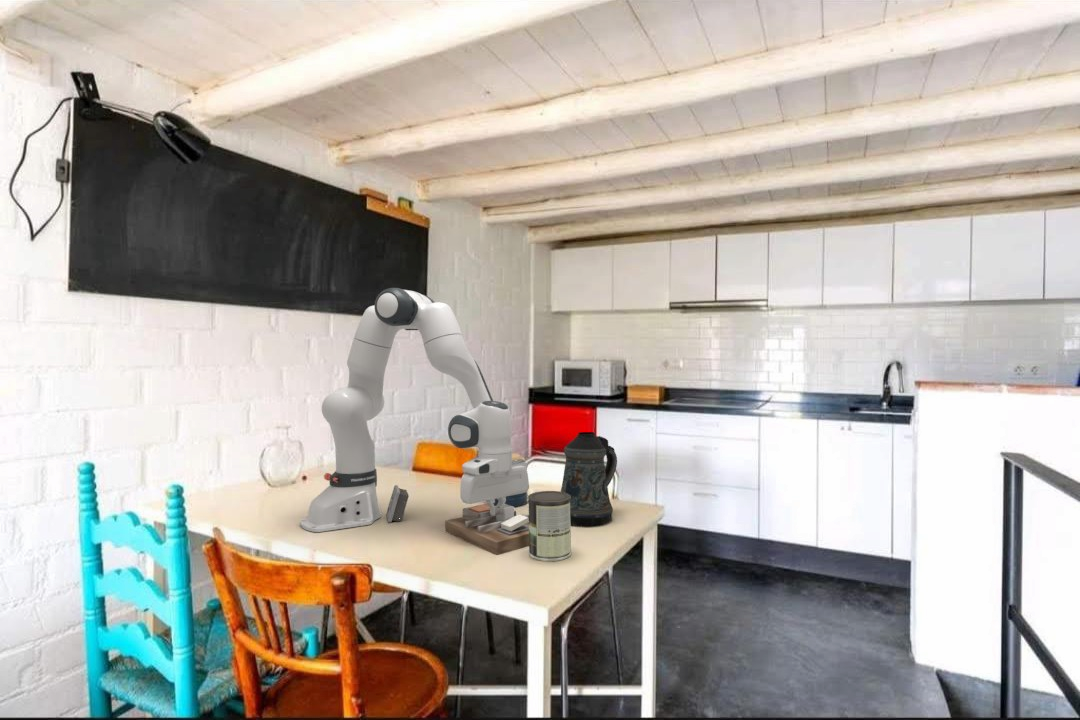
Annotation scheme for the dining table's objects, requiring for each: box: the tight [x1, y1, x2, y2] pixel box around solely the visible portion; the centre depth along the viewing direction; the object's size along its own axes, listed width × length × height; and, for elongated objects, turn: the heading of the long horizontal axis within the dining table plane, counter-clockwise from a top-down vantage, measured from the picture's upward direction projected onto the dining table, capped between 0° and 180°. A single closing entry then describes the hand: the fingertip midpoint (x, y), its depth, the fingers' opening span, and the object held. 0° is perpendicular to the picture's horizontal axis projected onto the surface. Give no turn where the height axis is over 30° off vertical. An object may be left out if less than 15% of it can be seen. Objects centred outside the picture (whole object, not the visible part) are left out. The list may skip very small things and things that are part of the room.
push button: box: [469, 504, 490, 513], centre depth 161 cm, size 5×5×2 cm
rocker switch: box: [501, 513, 529, 531], centre depth 149 cm, size 6×4×1 cm, turn 130°
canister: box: [493, 452, 529, 508], centre depth 188 cm, size 13×13×18 cm
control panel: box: [444, 503, 529, 556], centre depth 155 cm, size 18×24×6 cm
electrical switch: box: [386, 484, 409, 524], centre depth 172 cm, size 9×5×9 cm, turn 18°
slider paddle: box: [495, 504, 515, 521], centre depth 156 cm, size 3×4×4 cm
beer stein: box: [560, 431, 618, 528], centre depth 170 cm, size 16×19×25 cm
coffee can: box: [527, 490, 572, 562], centre depth 140 cm, size 10×10×14 cm
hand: (496, 514), depth 154 cm, fingers closed
